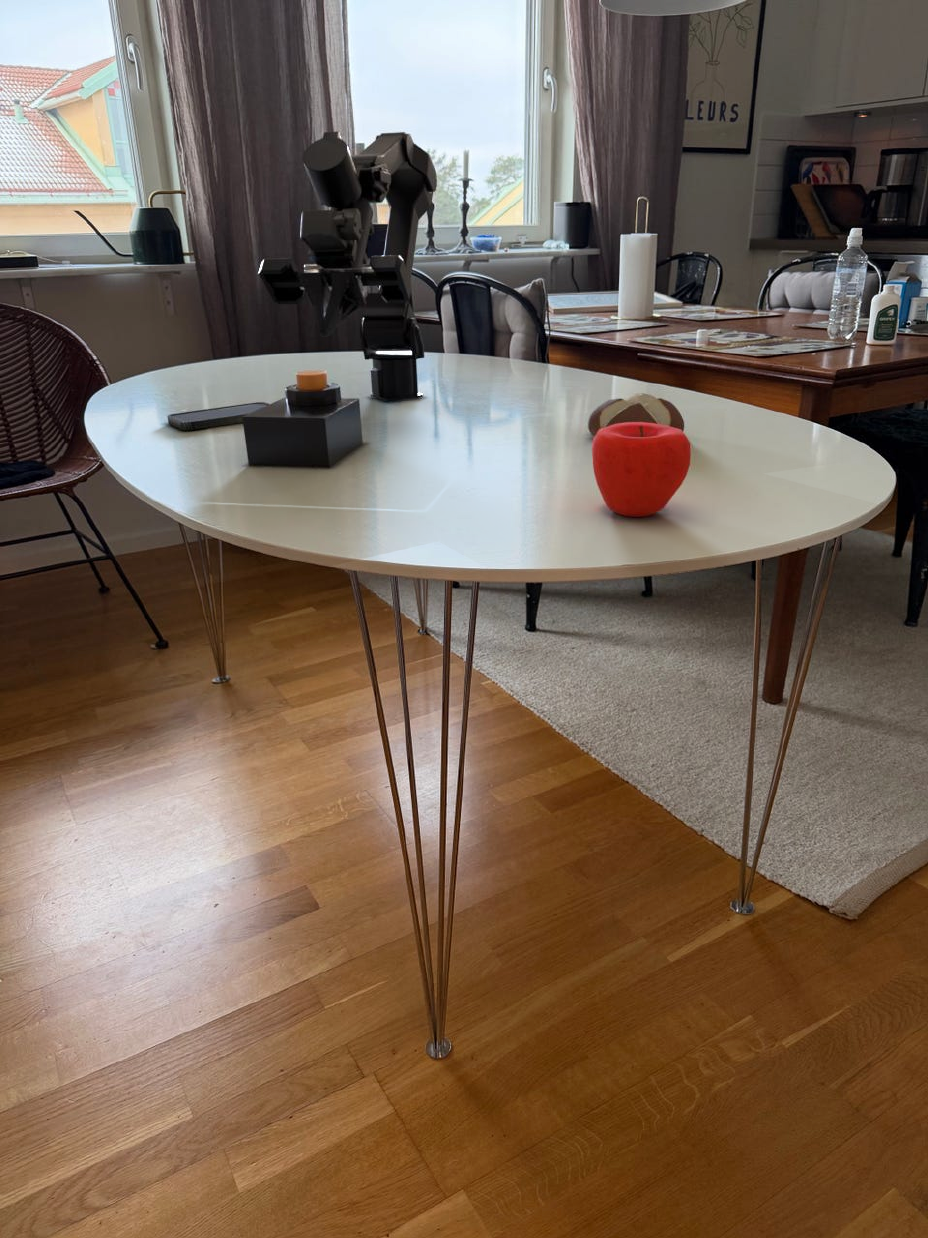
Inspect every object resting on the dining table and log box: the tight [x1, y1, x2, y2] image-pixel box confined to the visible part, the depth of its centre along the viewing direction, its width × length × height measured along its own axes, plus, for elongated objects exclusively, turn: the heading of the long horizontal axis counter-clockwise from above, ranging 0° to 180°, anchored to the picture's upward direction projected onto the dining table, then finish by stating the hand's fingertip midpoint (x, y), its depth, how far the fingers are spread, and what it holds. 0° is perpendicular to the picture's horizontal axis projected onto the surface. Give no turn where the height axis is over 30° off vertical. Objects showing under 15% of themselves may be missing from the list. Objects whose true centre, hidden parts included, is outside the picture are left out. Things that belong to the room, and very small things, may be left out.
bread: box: [587, 393, 685, 437], centre depth 106 cm, size 11×11×5 cm
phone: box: [166, 401, 270, 431], centre depth 124 cm, size 8×1×15 cm
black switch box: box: [242, 381, 364, 469], centre depth 103 cm, size 13×10×8 cm
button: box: [295, 370, 328, 390], centre depth 104 cm, size 4×4×2 cm
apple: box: [591, 422, 692, 518], centre depth 78 cm, size 9×9×8 cm
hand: (323, 333), depth 106 cm, fingers closed
